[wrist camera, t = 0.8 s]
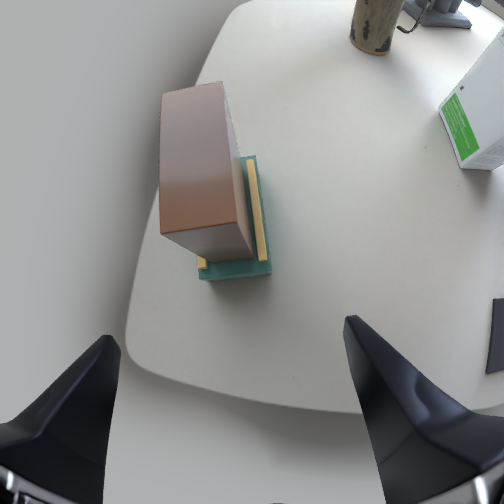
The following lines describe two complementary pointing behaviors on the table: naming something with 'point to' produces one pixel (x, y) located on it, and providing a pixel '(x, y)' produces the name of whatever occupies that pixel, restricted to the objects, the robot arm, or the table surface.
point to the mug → (377, 24)
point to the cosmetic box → (478, 111)
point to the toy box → (258, 233)
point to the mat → (496, 338)
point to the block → (202, 176)
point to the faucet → (441, 12)
